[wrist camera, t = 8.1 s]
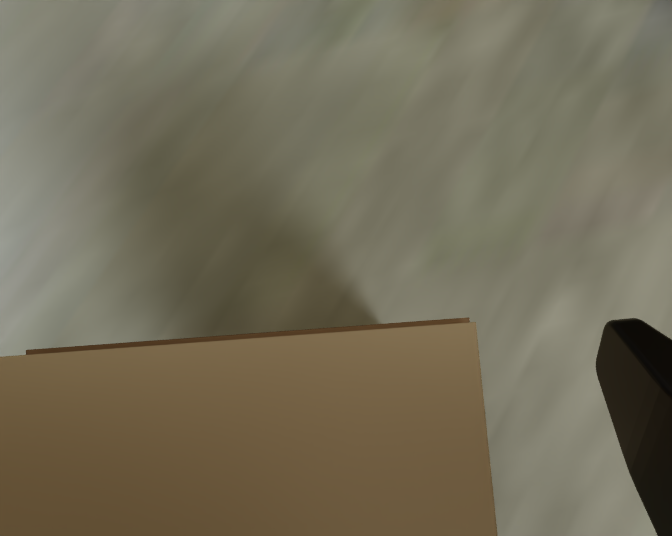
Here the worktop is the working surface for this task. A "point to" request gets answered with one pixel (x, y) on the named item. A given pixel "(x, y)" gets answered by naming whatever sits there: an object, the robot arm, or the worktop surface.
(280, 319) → the worktop surface
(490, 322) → the worktop surface
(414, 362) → the brown box
